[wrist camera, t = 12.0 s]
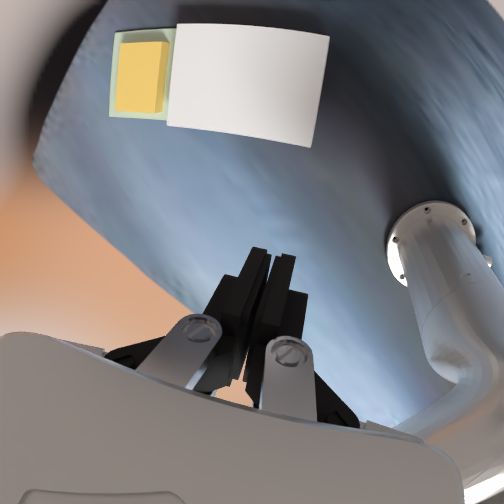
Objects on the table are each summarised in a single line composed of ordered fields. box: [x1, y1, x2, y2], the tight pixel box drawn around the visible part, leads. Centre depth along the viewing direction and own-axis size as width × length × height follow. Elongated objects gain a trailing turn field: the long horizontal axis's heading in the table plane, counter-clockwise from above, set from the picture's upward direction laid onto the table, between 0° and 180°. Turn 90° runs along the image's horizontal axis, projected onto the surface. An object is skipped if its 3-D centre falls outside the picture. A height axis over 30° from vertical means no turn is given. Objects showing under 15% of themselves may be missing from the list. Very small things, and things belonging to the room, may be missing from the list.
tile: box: [115, 42, 170, 113], centre depth 34 cm, size 6×9×2 cm, turn 172°
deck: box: [167, 24, 329, 148], centre depth 31 cm, size 16×12×4 cm
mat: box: [109, 28, 177, 120], centre depth 35 cm, size 11×12×1 cm
